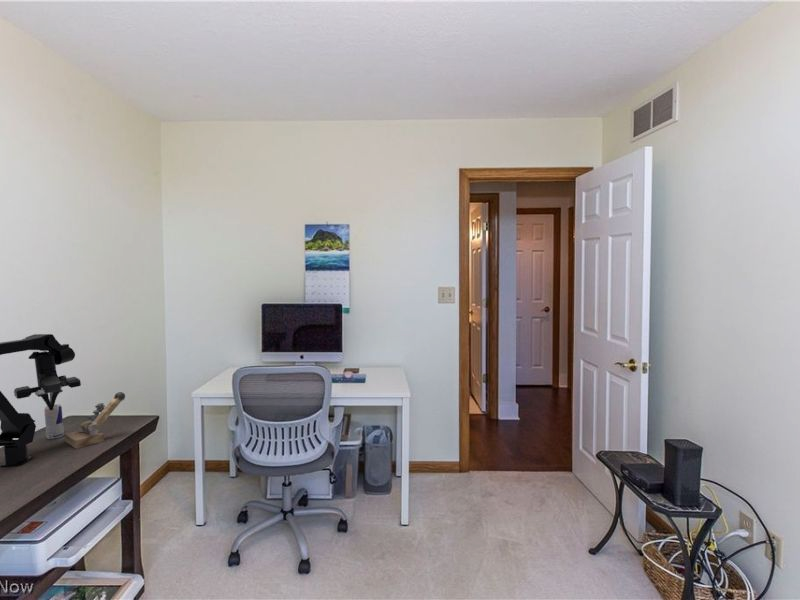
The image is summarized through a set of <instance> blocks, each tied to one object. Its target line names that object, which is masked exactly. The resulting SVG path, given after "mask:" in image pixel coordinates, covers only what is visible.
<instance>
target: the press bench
mask: <svg viewBox="0 0 800 600" xmlns="http://www.w3.org/2000/svg"><path fill="white" fill-rule="evenodd" d="M87 421H88V420H86V421H83V422H82V423H81V424H80V428H81V429H79V430H76V431H72V432H68V433H64V438H65V443H67V444H68V445H70V447H72V448H74V449H76V450H77V449H81V448H85V447H88V446H92V445H95V444H100V443H103V442H105V435H104V432H102V431H100V430H98V429H99V428H98V429H97V424H93V425H91V423H92V421H91V422H87ZM88 427H89V431H87V429H88Z"/></svg>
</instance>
